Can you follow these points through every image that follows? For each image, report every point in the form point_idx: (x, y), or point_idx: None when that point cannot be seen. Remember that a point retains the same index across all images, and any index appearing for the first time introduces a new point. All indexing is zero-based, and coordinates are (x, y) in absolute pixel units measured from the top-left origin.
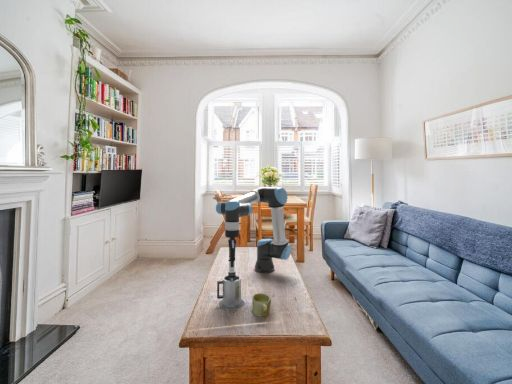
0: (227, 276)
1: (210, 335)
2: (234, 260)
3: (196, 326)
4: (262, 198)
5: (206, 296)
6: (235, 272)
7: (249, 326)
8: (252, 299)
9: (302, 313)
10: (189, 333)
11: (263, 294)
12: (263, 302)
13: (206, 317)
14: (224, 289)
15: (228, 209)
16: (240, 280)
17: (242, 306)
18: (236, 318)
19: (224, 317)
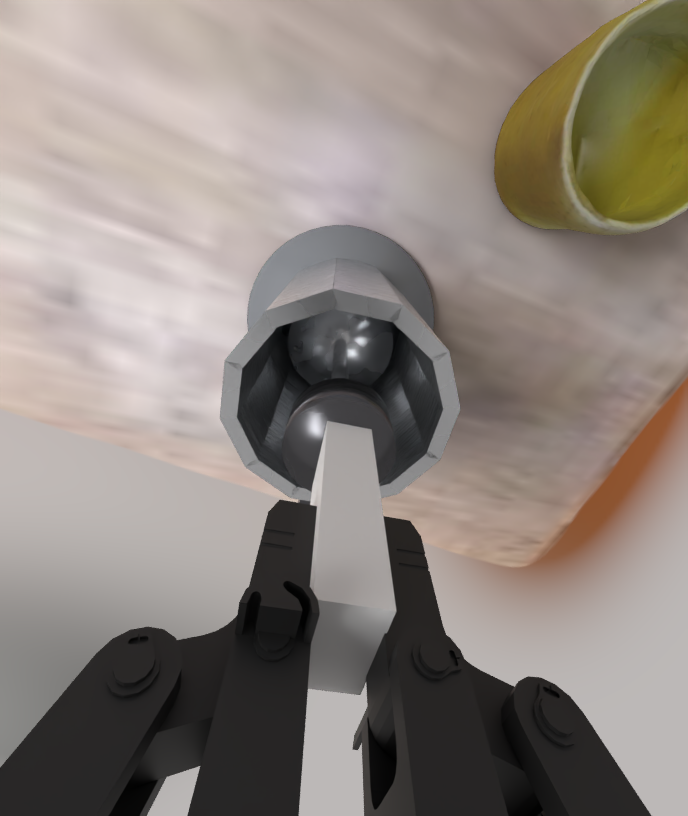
0: (249, 435)
1: (577, 500)
2: (565, 708)
3: (476, 534)
4: None
5: (177, 445)
6: (355, 405)
7: (647, 311)
8: (588, 229)
9: None
10: (510, 561)
11: (608, 46)
12: (625, 105)
13: (424, 488)
14: None
15: None
16: (415, 316)
17: (419, 269)
18: (522, 354)
19: (473, 412)
